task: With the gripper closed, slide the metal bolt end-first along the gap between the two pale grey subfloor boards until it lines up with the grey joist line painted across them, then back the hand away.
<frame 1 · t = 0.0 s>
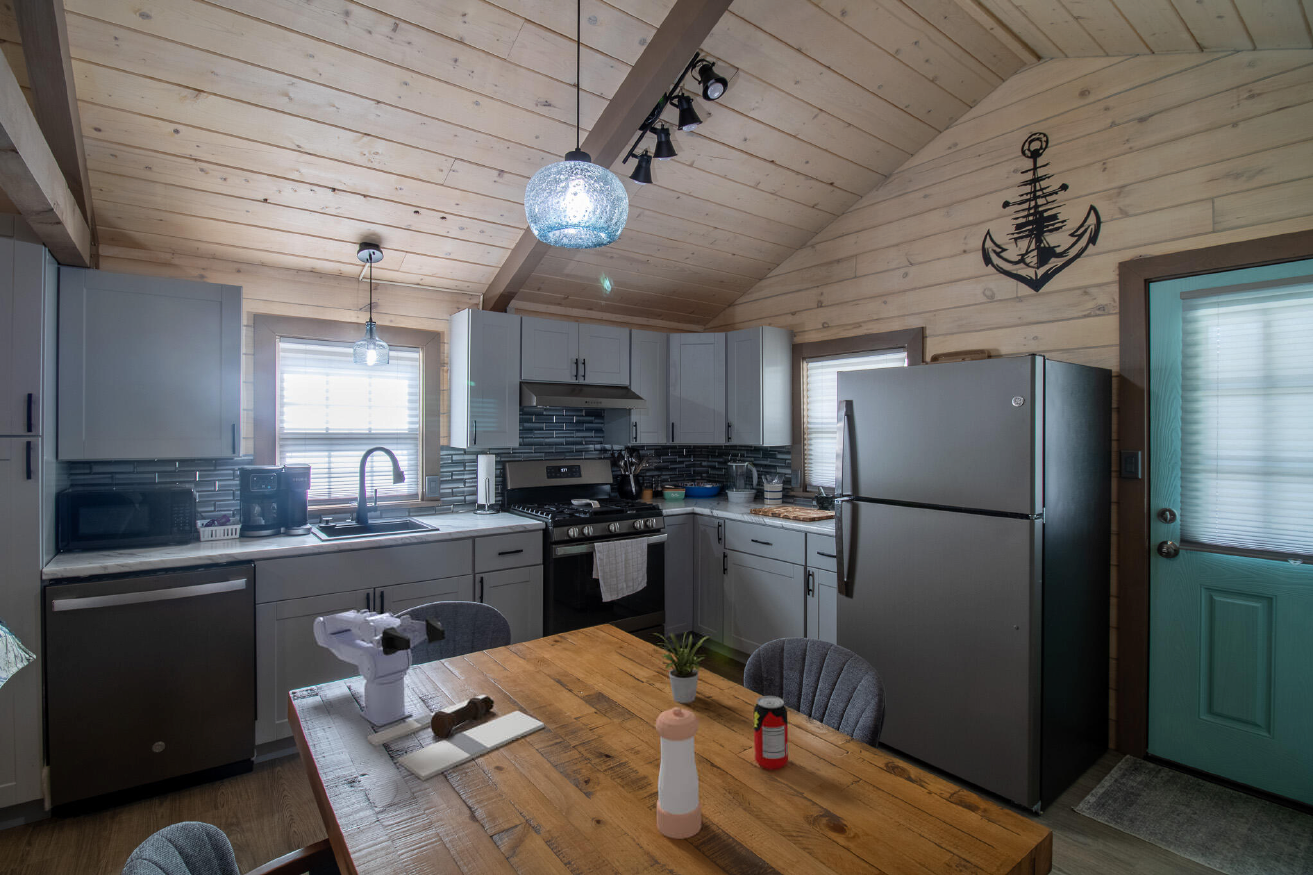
hand: (426, 639, 134), 22 cm above the table, tool horizontal, fingers open, 7 cm apart
beverage can: (771, 764, 123), on the table
bolt: (466, 724, 143), on the table
house plant: (678, 699, 153), on the table
subfloor: (450, 729, 140), on the table
pepper shaker: (679, 825, 105), on the table
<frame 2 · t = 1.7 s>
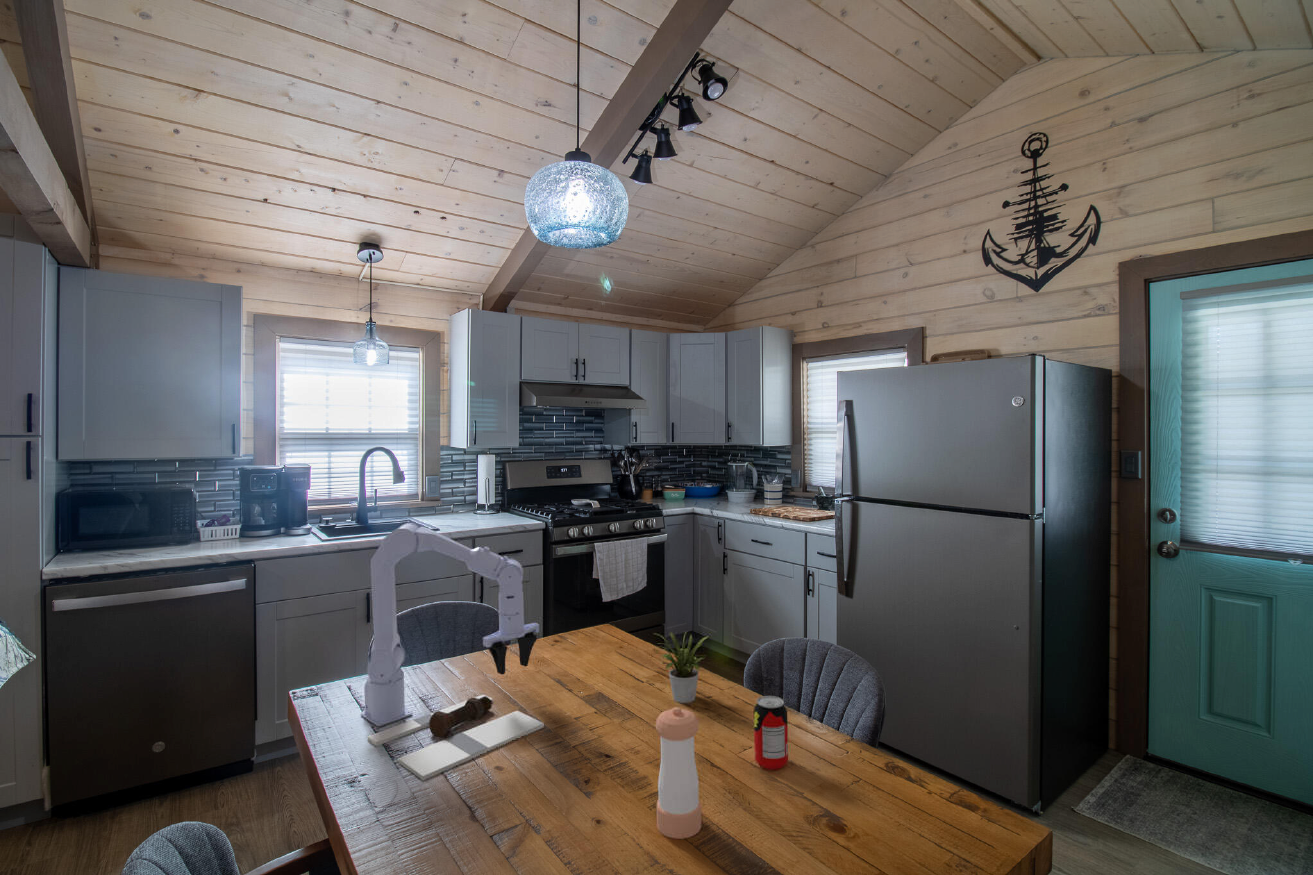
hand: (512, 669, 152), 8 cm above the table, tool pointing down, fingers open, 6 cm apart
nothing on the table moved.
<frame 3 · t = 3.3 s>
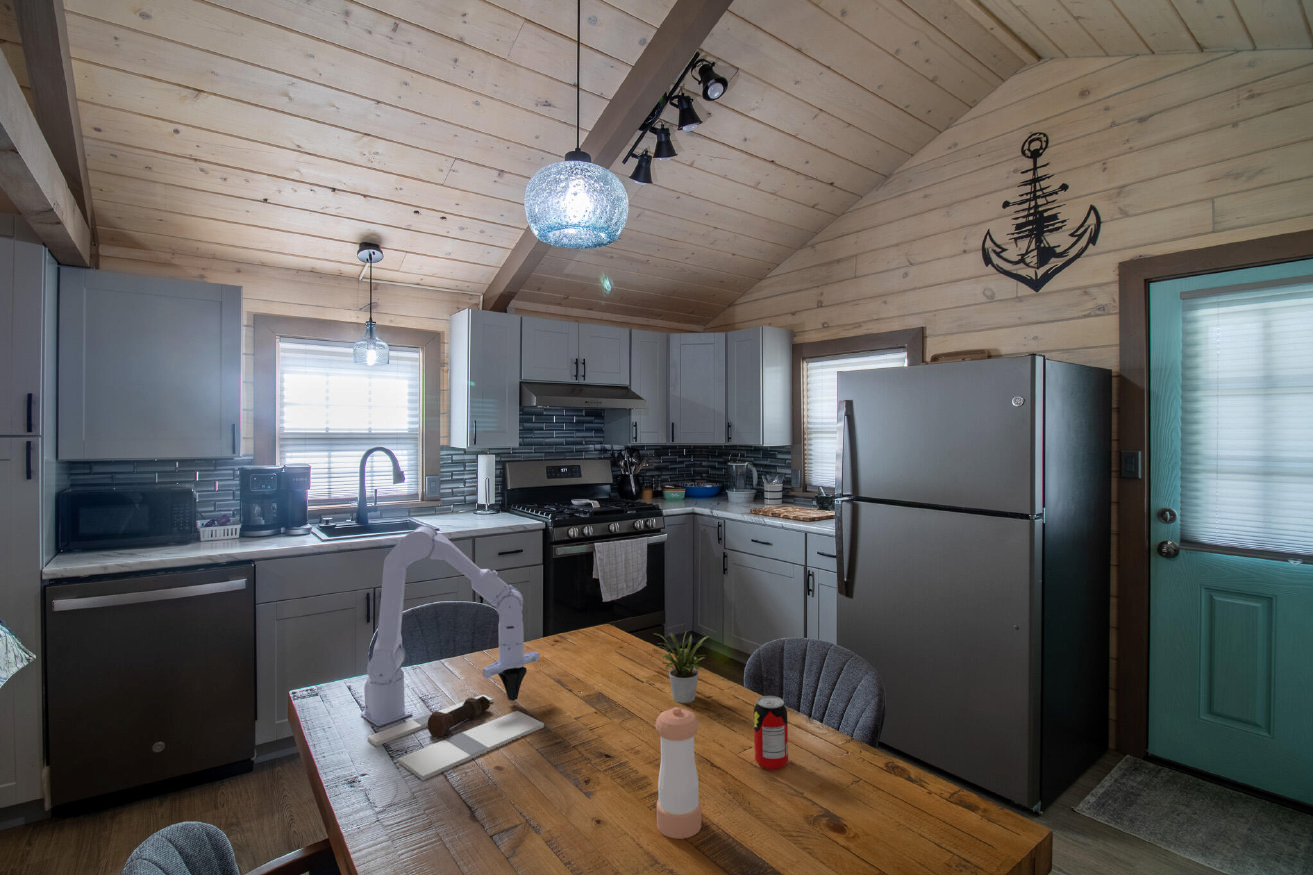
hand: (512, 698, 152), 1 cm above the table, tool pointing down, fingers closed
nothing on the table moved.
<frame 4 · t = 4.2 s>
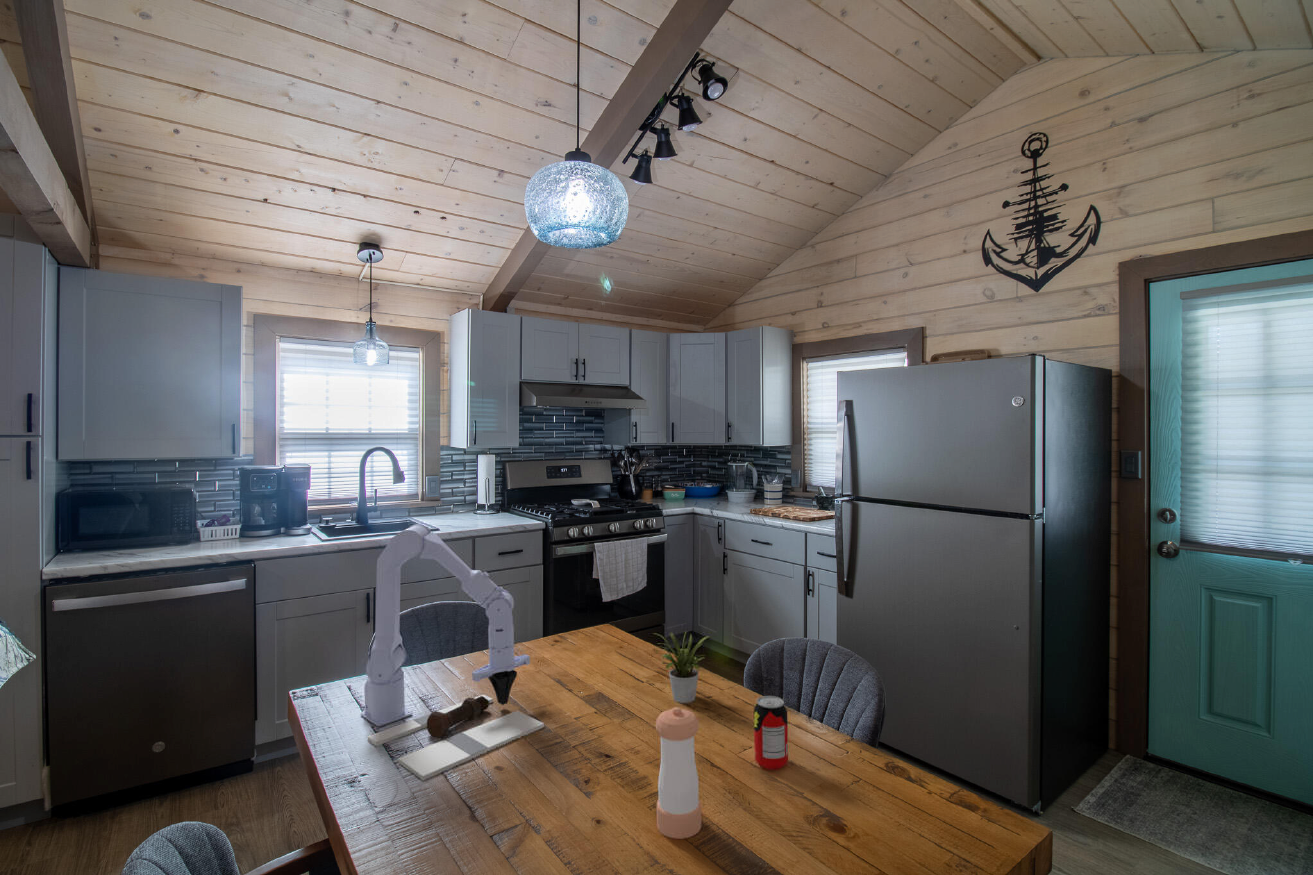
hand: (502, 702, 150), 1 cm above the table, tool pointing down, fingers closed
nothing on the table moved.
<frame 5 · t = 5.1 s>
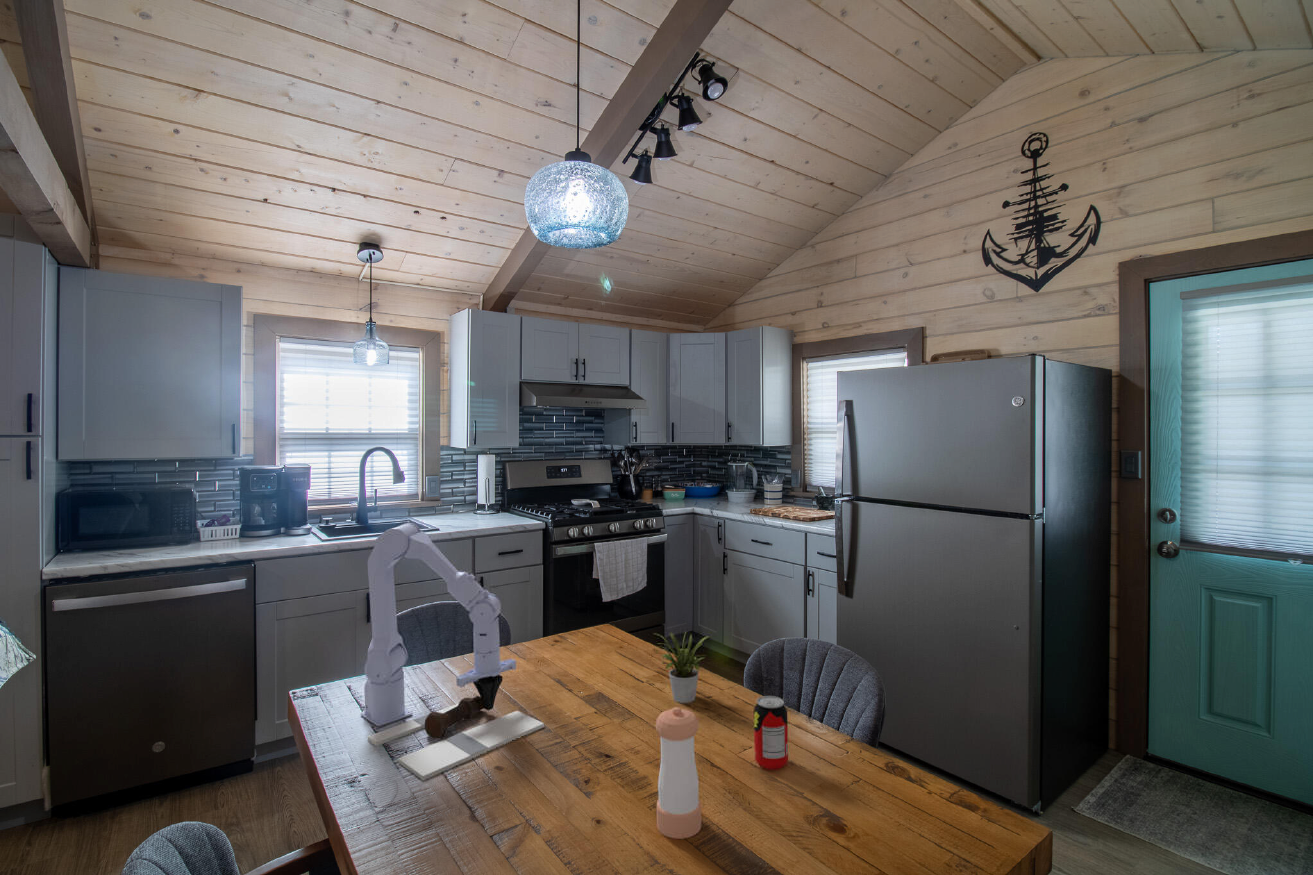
hand: (488, 708, 147), 1 cm above the table, tool pointing down, fingers closed
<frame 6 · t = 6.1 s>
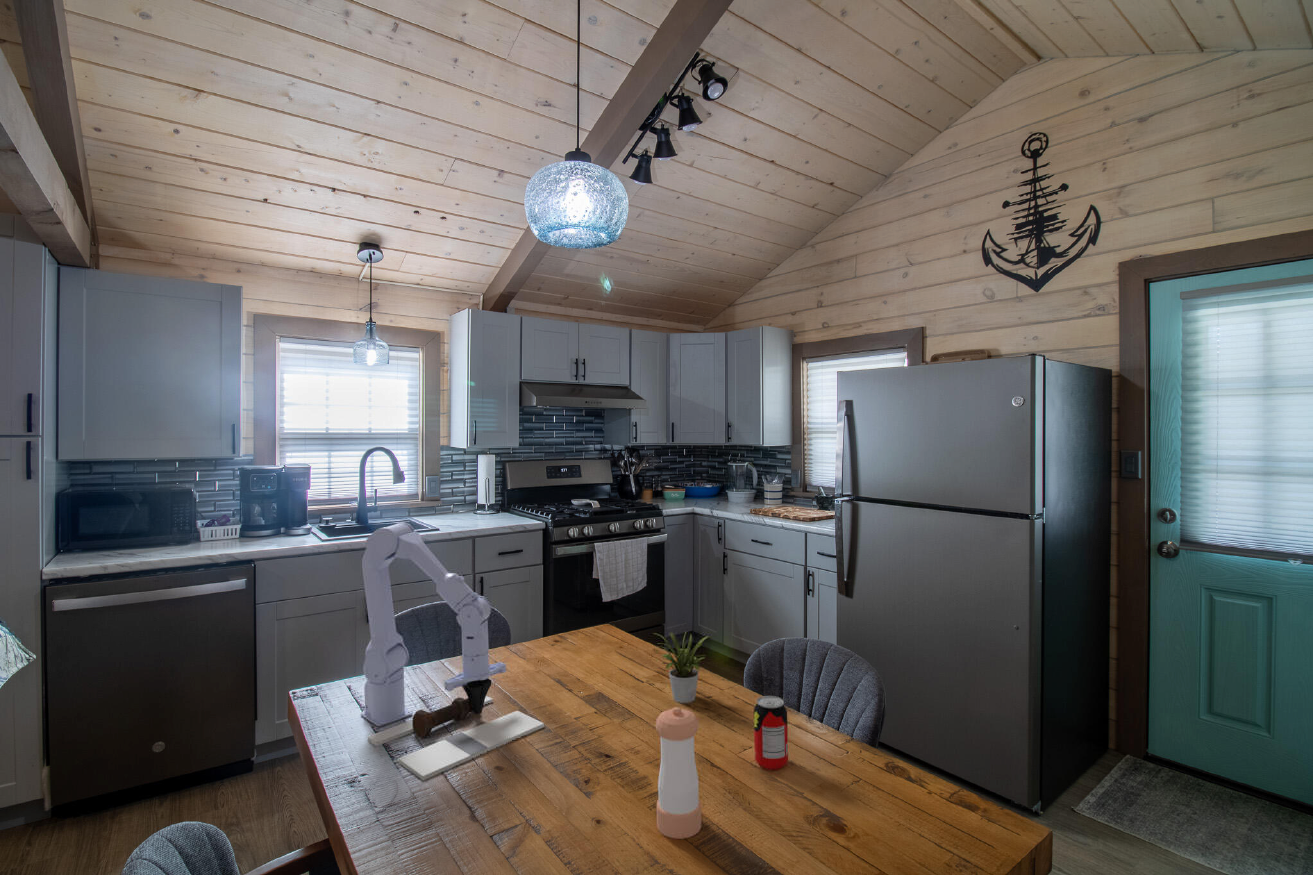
hand: (477, 712, 145), 1 cm above the table, tool pointing down, fingers closed
bolt: (449, 724, 143), on the table, touching gripper, subfloor
everything else where it was.
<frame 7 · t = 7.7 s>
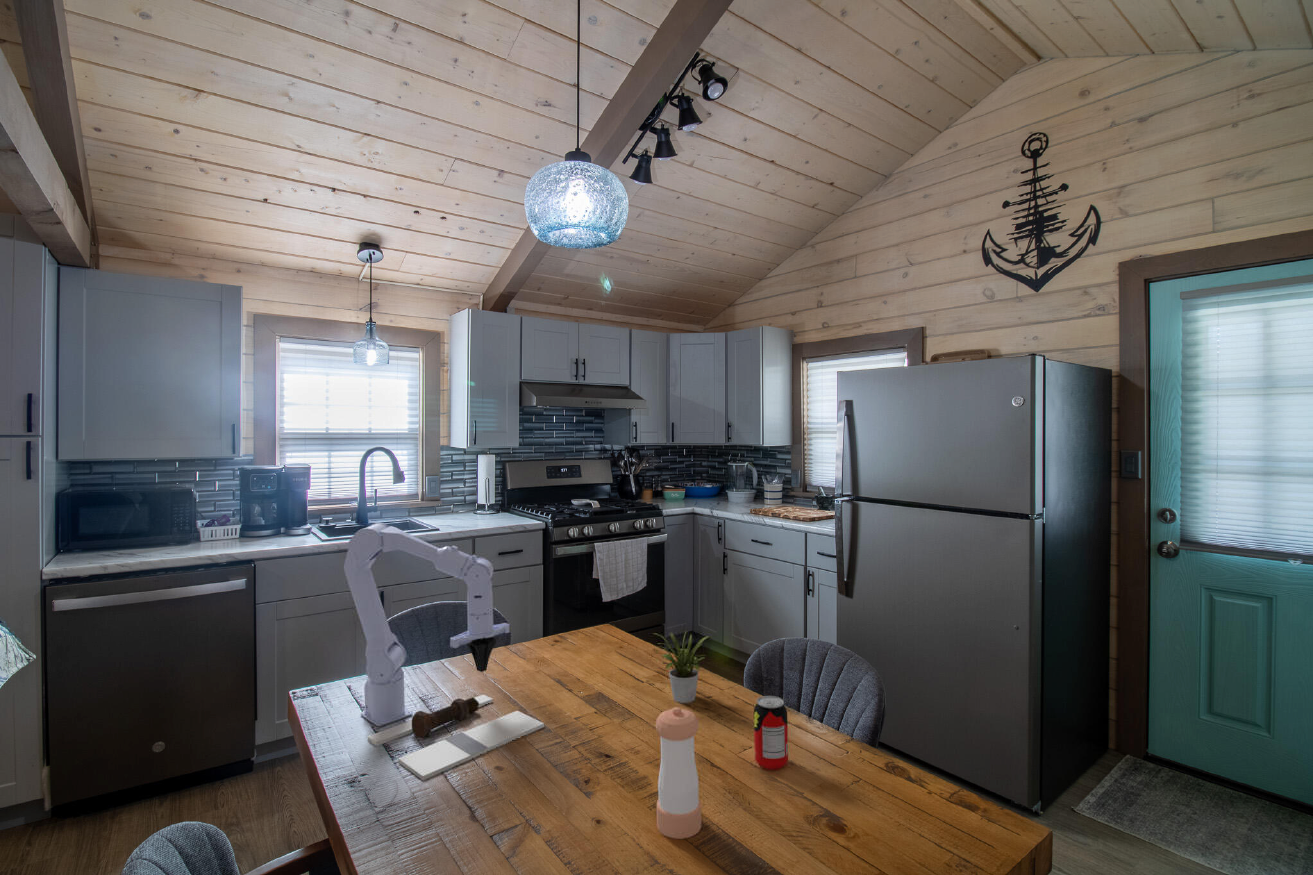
hand: (481, 670, 149), 9 cm above the table, tool pointing down, fingers closed
bolt: (448, 725, 143), on the table
everything else where it was.
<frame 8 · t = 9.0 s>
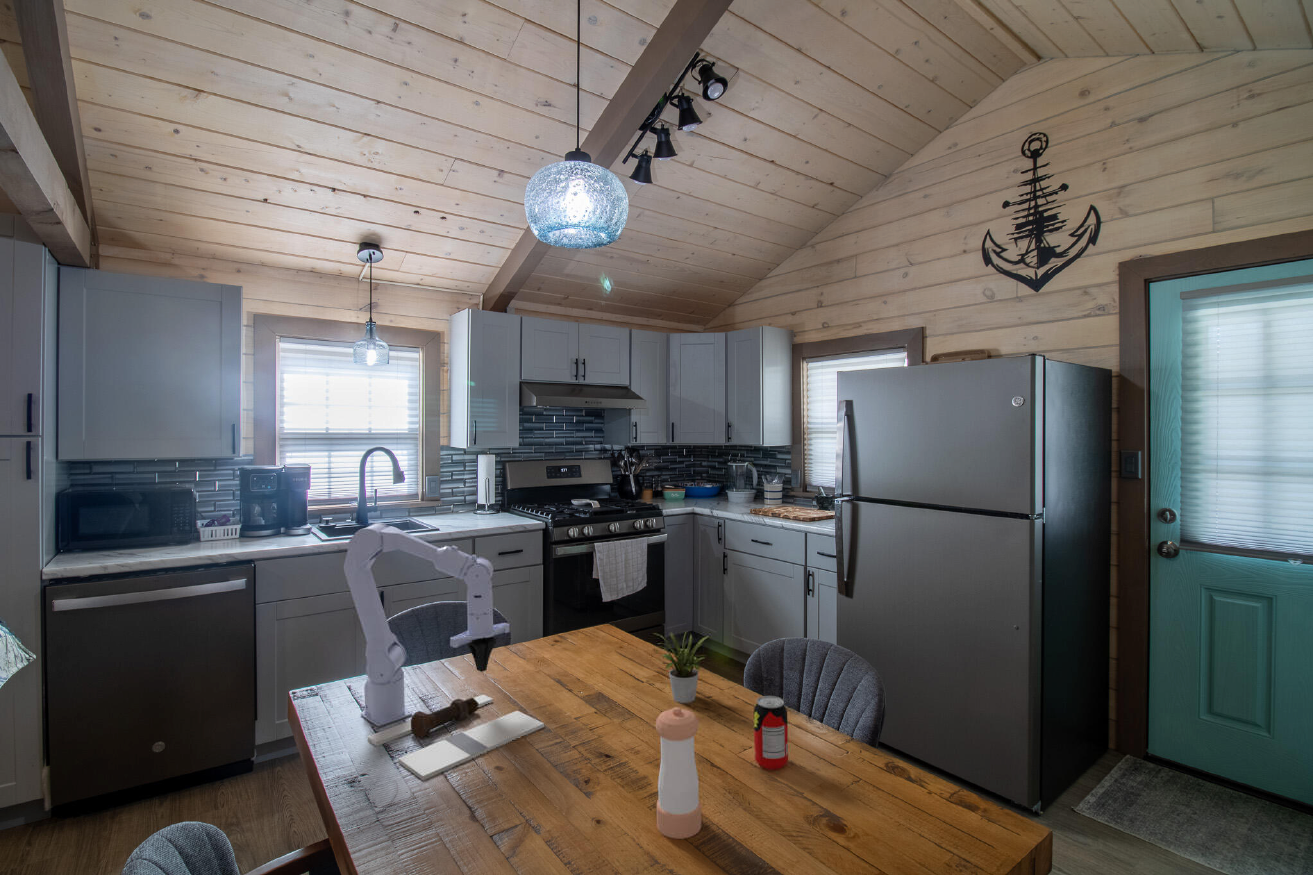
hand: (481, 669, 149), 9 cm above the table, tool pointing down, fingers closed
nothing on the table moved.
at the end: bolt inside the target area (4.0 cm from its centre), on the table; bolt moved 4.1 cm from its start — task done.
